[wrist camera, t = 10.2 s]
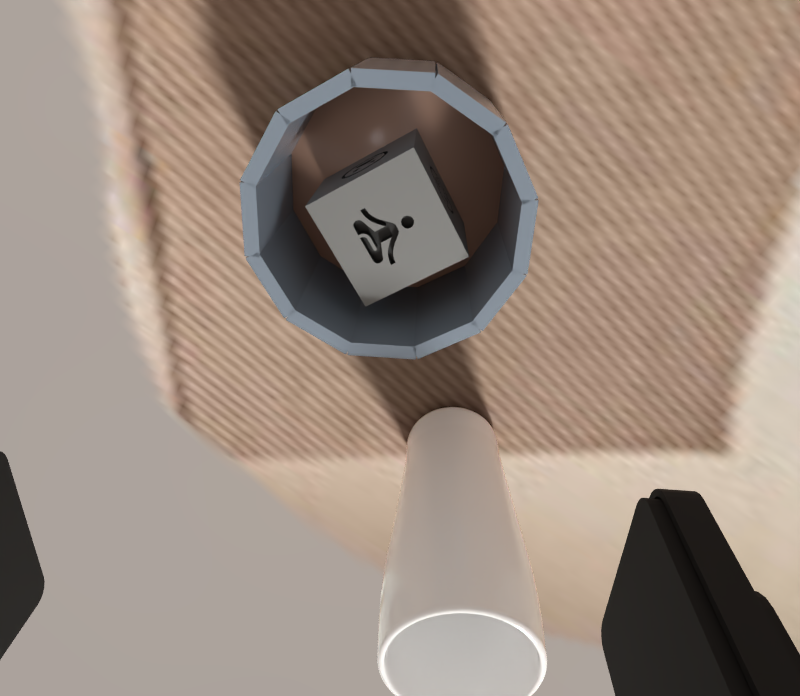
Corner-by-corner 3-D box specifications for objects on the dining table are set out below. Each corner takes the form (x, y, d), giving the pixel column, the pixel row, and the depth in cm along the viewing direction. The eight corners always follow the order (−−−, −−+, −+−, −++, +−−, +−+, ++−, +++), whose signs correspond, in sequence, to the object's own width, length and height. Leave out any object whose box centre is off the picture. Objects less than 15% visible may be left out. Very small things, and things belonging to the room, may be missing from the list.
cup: (279, 52, 28) (231, 61, 22) (527, 66, 28) (556, 79, 21) (287, 283, 33) (251, 348, 27) (497, 297, 33) (513, 365, 27)
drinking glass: (438, 500, 40) (441, 740, 26) (372, 428, 37) (339, 651, 24) (530, 450, 38) (583, 684, 24) (466, 371, 35) (485, 581, 22)
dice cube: (324, 179, 30) (305, 206, 26) (416, 128, 29) (413, 147, 24) (375, 267, 32) (365, 306, 27) (463, 223, 31) (469, 256, 26)
